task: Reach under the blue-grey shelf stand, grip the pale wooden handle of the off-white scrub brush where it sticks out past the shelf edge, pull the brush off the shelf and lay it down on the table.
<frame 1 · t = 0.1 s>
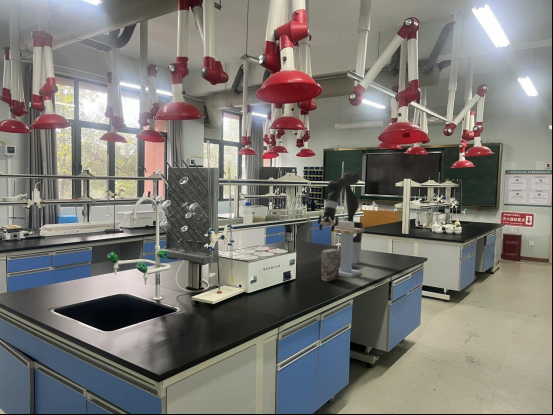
hand: (326, 230, 261), 31 cm above the countertop, tool tilted 20°, fingers open, 8 cm apart
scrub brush: (345, 228, 272), point 32 cm above the countertop, touching shelf stand
shelf stand: (345, 273, 273), on the countertop
stone block: (329, 279, 255), on the countertop
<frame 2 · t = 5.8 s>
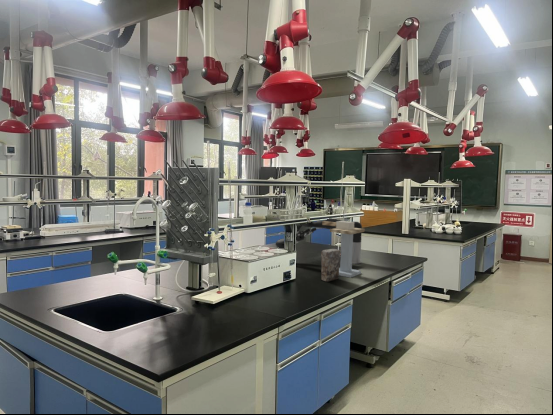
hand: (312, 229, 288), 29 cm above the countertop, tool pointing upward, fingers open, 8 cm apart
nothing on the countertop moved.
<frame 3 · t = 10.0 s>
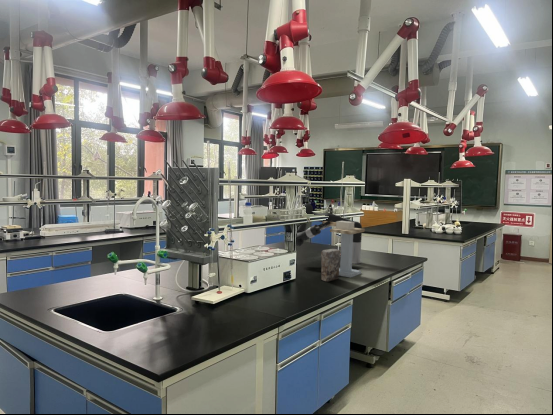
hand: (331, 221, 278), 36 cm above the countertop, tool pointing upward, fingers closed on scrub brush, 2 cm apart
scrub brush: (345, 228, 272), point 32 cm above the countertop, touching gripper, shelf stand
everything else where it was.
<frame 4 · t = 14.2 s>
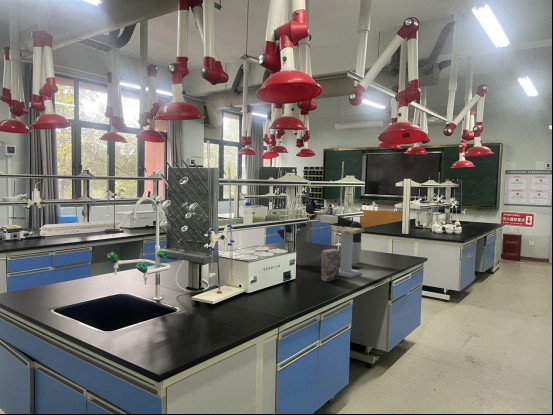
hand: (315, 215, 286), 39 cm above the countertop, tool pointing upward, fingers closed on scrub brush, 2 cm apart
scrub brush: (328, 222, 279), point 35 cm above the countertop, touching gripper
everything else where it was.
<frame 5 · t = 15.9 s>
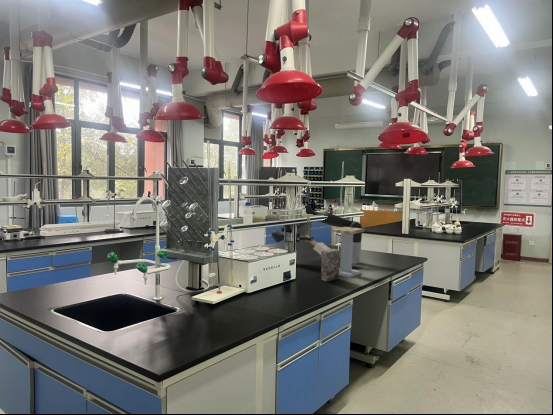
hand: (312, 238, 288), 22 cm above the countertop, tool horizontal, fingers closed on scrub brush, 2 cm apart
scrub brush: (321, 252, 284), point 13 cm above the countertop, tilted 27°, touching gripper
everything else where it was.
when the fingers open (14 cm above the countertop, at t = 18.0 s): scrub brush drops 5 cm, on the countertop.
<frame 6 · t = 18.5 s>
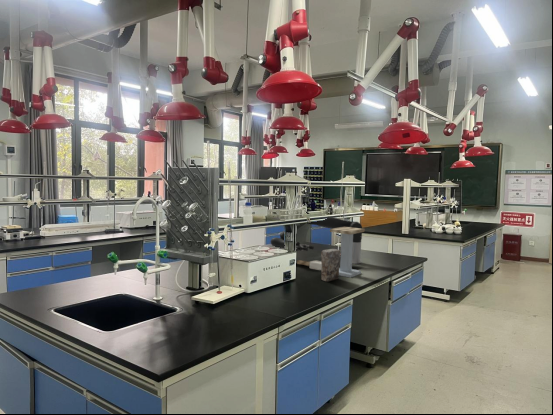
hand: (310, 248, 290), 14 cm above the countertop, tool horizontal, fingers open, 7 cm apart
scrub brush: (317, 268, 287), on the countertop
everything else where it was.
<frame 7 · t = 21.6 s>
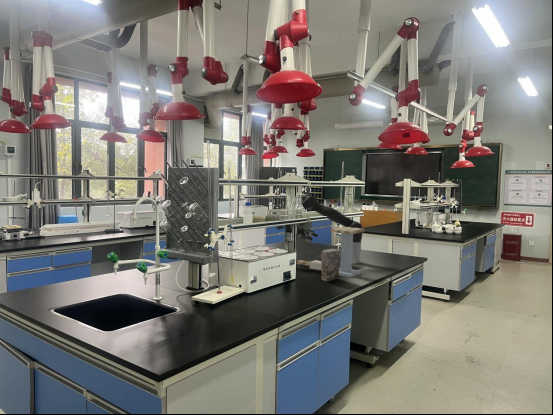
hand: (315, 237, 286), 23 cm above the countertop, tool horizontal, fingers open, 8 cm apart
nothing on the countertop moved.
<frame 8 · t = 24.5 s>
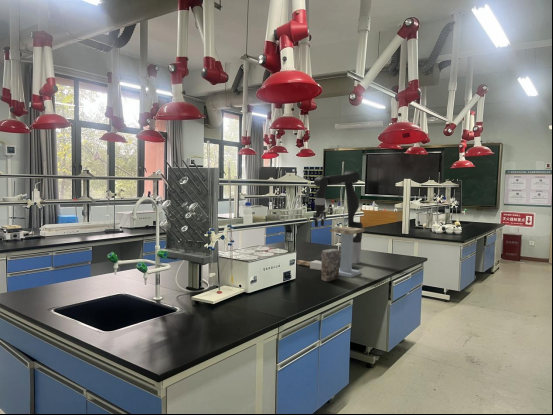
hand: (319, 226, 282), 32 cm above the countertop, tool pointing down, fingers open, 8 cm apart
nothing on the countertop moved.
at the end: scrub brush touching countertop; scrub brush inside the target area (1.5 cm from its centre), on the countertop; the gripper is holding nothing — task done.
